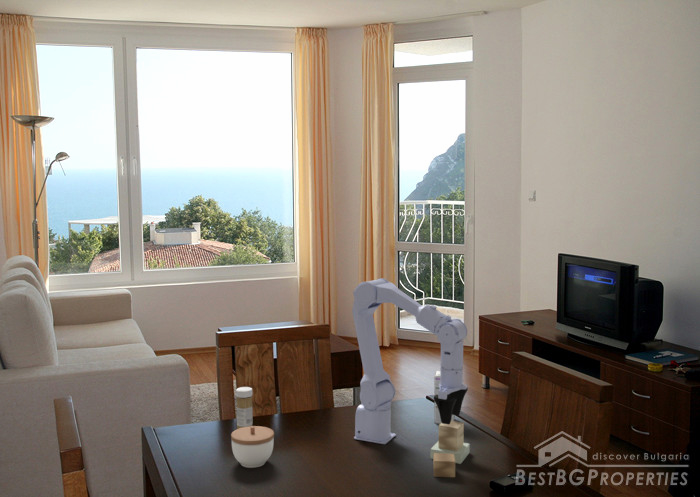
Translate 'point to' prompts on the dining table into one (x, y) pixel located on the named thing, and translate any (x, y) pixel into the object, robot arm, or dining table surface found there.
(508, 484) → the dining table surface
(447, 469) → the oak block
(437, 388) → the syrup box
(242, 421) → the sprinkles bottle
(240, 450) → the lidded jar
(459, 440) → the maple block
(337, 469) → the dining table surface
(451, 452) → the plinth block
